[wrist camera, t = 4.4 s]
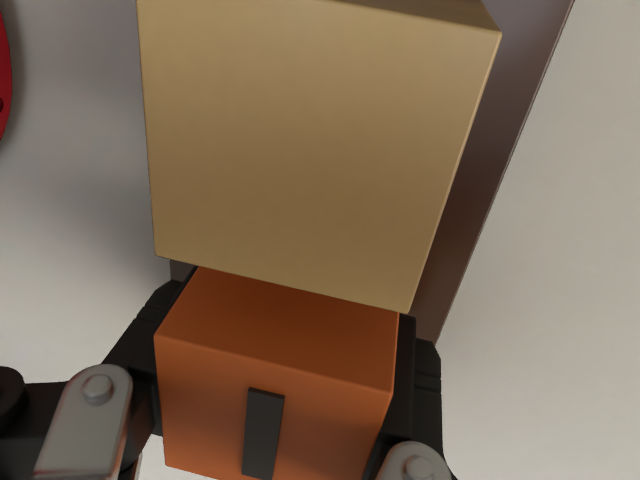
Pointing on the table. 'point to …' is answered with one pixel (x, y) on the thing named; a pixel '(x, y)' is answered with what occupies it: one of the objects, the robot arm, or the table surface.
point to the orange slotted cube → (272, 380)
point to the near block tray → (337, 137)
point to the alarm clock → (4, 78)
